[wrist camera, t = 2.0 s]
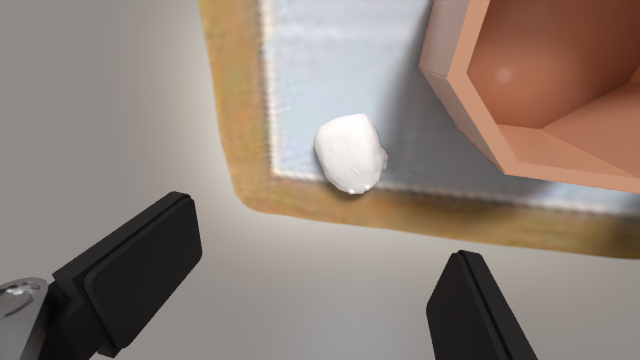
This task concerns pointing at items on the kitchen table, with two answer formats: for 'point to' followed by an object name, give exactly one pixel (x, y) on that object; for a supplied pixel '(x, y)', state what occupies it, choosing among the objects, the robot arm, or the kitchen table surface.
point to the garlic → (350, 153)
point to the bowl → (542, 85)
